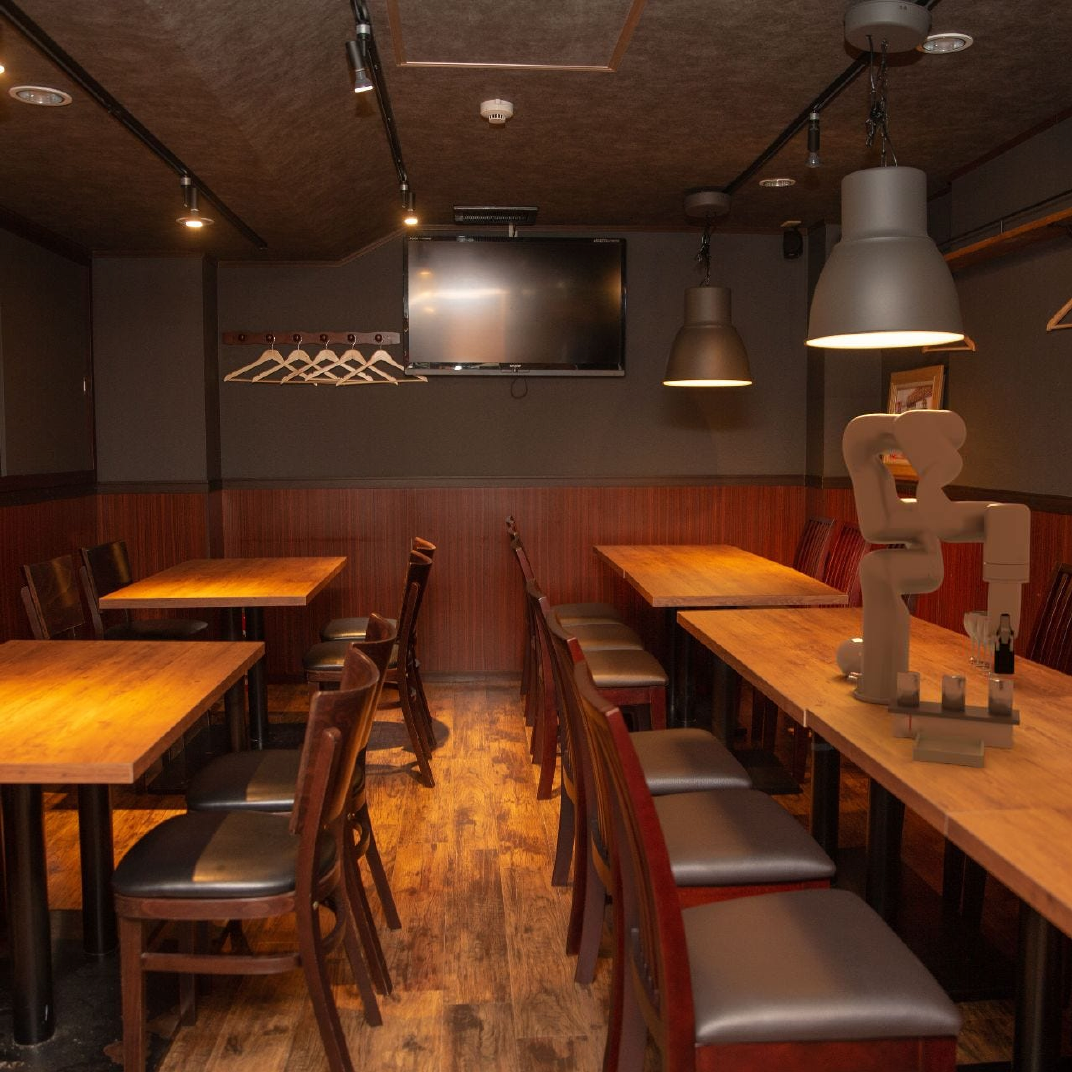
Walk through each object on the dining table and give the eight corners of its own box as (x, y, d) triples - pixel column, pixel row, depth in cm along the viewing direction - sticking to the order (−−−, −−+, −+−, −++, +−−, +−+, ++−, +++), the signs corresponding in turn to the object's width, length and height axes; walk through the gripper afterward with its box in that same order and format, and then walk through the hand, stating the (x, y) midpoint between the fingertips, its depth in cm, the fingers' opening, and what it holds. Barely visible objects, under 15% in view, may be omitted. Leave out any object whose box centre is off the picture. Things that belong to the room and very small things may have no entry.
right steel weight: (983, 712, 189) (984, 679, 189) (995, 709, 192) (996, 677, 191) (1004, 717, 186) (1005, 683, 186) (1016, 714, 189) (1017, 681, 188)
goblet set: (958, 658, 267) (960, 606, 265) (982, 659, 266) (984, 607, 264) (986, 682, 239) (988, 624, 238) (1013, 683, 238) (1015, 625, 237)
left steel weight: (892, 704, 196) (892, 672, 195) (905, 701, 198) (906, 669, 198) (910, 708, 193) (911, 676, 192) (923, 705, 195) (924, 673, 194)
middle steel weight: (936, 708, 193) (937, 676, 192) (949, 705, 195) (950, 673, 194) (956, 712, 189) (957, 680, 189) (969, 709, 192) (970, 677, 191)
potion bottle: (830, 681, 246) (896, 691, 244) (837, 663, 238) (906, 674, 236) (832, 645, 251) (897, 654, 249) (840, 627, 243) (907, 637, 240)
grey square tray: (912, 759, 179) (912, 748, 179) (917, 743, 189) (917, 732, 189) (983, 767, 174) (983, 756, 174) (984, 750, 184) (984, 739, 184)
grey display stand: (886, 736, 193) (887, 708, 193) (891, 725, 201) (891, 698, 200) (1018, 750, 184) (1019, 720, 184) (1018, 738, 192) (1019, 710, 192)
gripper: (983, 568, 196) (982, 659, 197) (982, 576, 180) (980, 676, 181) (1028, 569, 193) (1026, 662, 194) (1030, 578, 177) (1028, 679, 178)
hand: (1004, 669), depth 188 cm, fingers open, 9 cm apart
